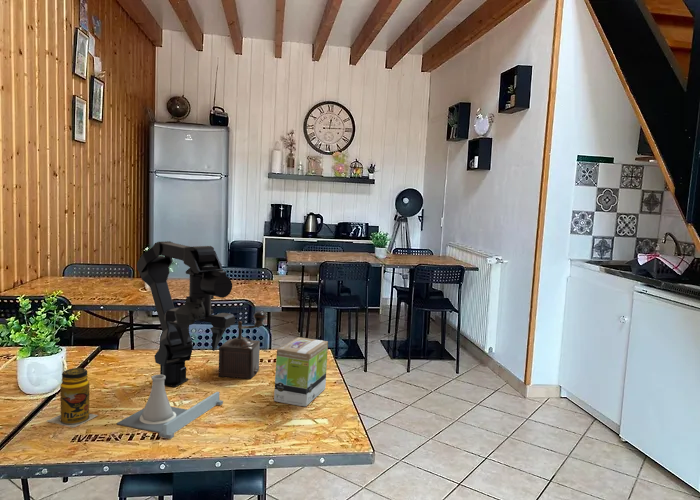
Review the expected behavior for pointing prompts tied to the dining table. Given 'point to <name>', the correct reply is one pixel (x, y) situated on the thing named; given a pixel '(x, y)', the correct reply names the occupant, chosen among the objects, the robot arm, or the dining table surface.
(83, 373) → the condiment
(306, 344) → the tea box
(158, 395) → the flask
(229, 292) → the robot arm
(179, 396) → the dining table surface
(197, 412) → the grey footed bar
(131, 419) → the resting mat
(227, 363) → the dark wooden grinder box
